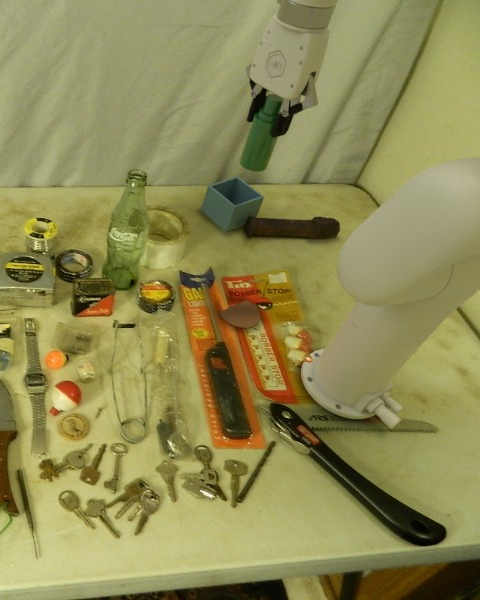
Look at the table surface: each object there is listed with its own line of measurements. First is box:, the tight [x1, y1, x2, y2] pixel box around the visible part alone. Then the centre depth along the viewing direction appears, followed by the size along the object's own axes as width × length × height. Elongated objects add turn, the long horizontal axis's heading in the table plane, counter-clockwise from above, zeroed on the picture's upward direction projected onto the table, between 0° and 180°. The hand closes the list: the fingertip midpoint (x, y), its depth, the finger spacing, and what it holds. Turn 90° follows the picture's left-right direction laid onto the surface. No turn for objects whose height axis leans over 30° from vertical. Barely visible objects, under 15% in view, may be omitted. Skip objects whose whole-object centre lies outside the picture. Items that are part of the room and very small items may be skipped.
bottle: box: [239, 93, 283, 173], centre depth 92 cm, size 5×5×12 cm
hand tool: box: [244, 215, 341, 240], centre depth 106 cm, size 19×4×5 cm, turn 88°
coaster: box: [218, 299, 261, 330], centre depth 91 cm, size 7×7×1 cm
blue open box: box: [200, 175, 265, 233], centre depth 108 cm, size 8×8×6 cm
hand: (266, 126), depth 91 cm, fingers closed on bottle, 5 cm apart
